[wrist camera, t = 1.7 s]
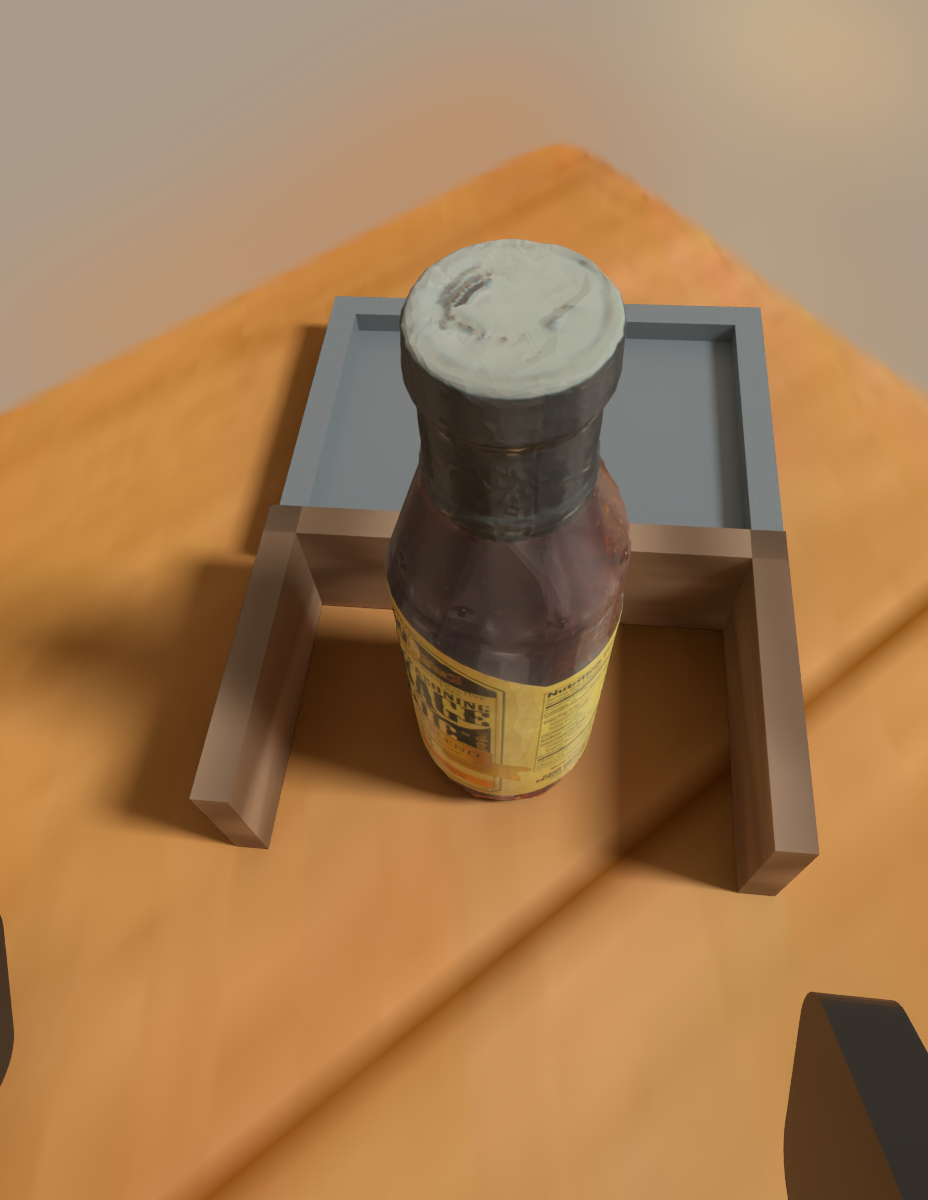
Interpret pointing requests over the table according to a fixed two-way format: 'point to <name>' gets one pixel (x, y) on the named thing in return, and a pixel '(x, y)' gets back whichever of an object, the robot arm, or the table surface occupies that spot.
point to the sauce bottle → (509, 512)
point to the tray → (628, 433)
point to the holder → (650, 597)
